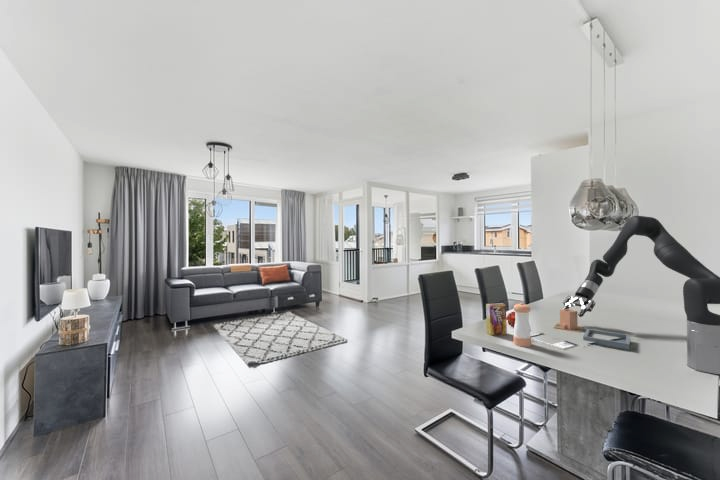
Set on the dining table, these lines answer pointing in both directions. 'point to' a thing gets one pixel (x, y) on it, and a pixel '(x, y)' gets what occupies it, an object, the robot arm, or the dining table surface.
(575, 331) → the post stand
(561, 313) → the orange-brown box
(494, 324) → the candy box
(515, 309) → the pepper shaker
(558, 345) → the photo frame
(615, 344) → the tray
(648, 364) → the dining table surface
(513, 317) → the dragon fruit
